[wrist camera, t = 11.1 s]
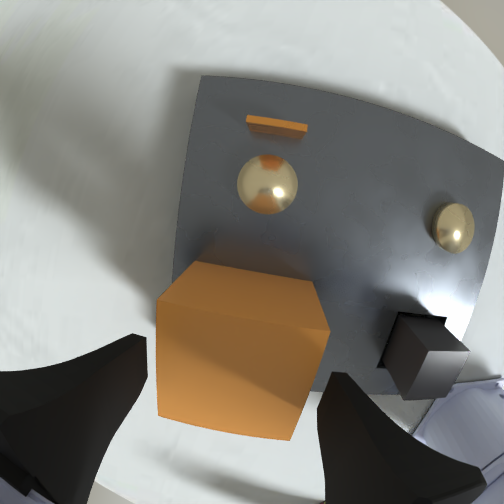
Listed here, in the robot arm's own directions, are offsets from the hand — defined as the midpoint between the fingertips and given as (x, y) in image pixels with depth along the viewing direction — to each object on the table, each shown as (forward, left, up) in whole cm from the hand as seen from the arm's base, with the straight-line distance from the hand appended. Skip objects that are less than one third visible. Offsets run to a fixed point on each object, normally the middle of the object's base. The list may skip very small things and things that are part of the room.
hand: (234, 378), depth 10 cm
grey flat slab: (-5, -4, -7) cm, 10 cm away
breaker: (-10, 0, -5) cm, 11 cm away
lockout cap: (0, 0, -5) cm, 5 cm away
